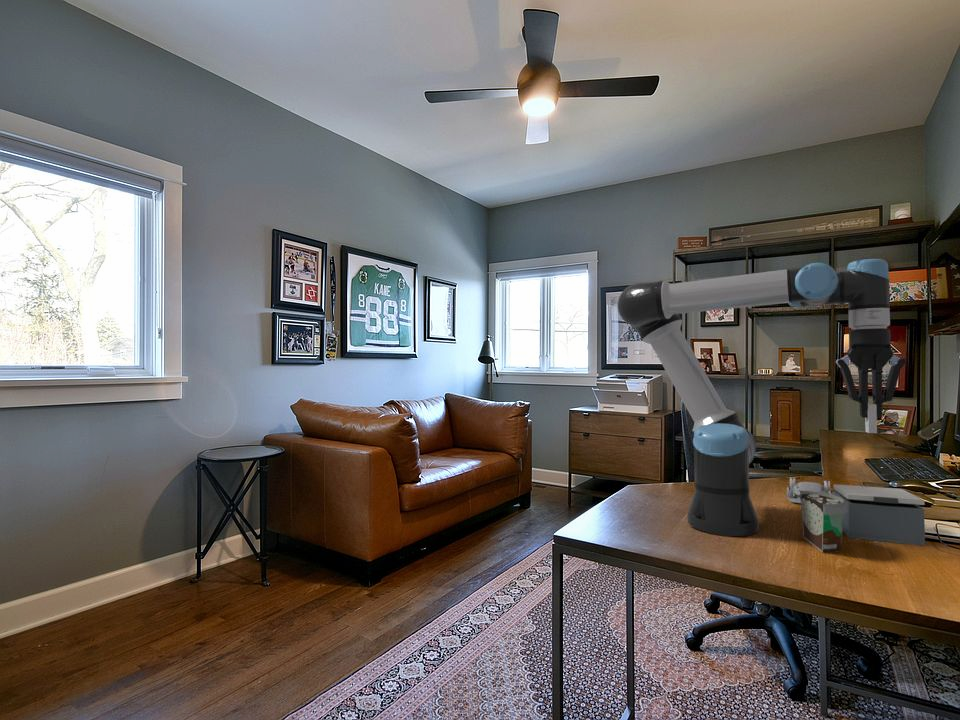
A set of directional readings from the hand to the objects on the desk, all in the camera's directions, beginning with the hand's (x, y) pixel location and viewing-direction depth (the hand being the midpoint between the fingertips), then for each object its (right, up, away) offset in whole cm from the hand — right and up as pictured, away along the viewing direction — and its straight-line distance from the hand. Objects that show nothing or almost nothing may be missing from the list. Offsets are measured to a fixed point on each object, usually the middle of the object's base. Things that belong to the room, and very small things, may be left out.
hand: (871, 432), depth 116 cm
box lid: (0, -14, -1) cm, 14 cm away
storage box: (0, -22, -1) cm, 22 cm away
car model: (+5, -23, +29) cm, 38 cm away
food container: (-16, -23, -9) cm, 29 cm away
